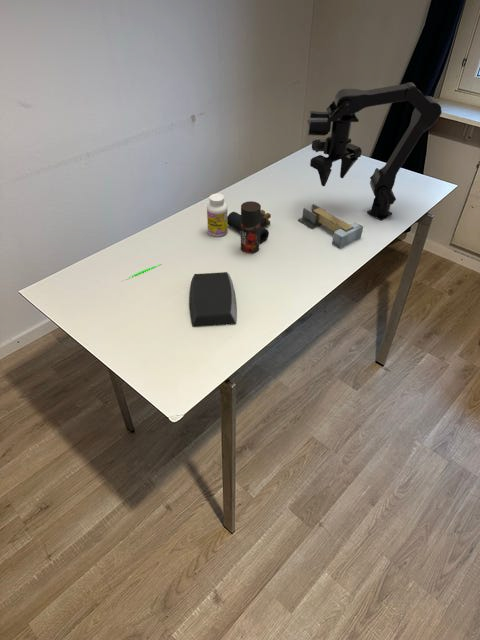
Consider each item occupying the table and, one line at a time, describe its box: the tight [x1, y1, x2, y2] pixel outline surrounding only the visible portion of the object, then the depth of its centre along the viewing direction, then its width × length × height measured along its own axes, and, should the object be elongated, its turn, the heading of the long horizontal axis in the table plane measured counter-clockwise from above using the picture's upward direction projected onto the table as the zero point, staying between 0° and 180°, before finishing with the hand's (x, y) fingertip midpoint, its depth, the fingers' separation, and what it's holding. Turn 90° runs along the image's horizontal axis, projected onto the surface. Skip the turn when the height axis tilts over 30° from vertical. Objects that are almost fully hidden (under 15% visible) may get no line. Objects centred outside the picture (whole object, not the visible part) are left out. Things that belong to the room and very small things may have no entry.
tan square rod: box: [313, 207, 353, 233], centre depth 147 cm, size 3×15×3 cm, turn 38°
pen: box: [128, 263, 162, 279], centre depth 133 cm, size 1×14×1 cm, turn 127°
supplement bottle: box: [206, 193, 229, 238], centre depth 144 cm, size 7×7×13 cm
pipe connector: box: [227, 209, 272, 245], centre depth 148 cm, size 12×5×15 cm
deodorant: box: [240, 200, 262, 255], centre depth 137 cm, size 6×6×15 cm
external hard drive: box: [188, 271, 238, 328], centre depth 123 cm, size 13×19×4 cm
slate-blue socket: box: [331, 221, 364, 250], centre depth 143 cm, size 10×4×4 cm, turn 128°
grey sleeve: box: [297, 203, 326, 230], centre depth 152 cm, size 8×7×4 cm
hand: (332, 181), depth 149 cm, fingers open, 9 cm apart
